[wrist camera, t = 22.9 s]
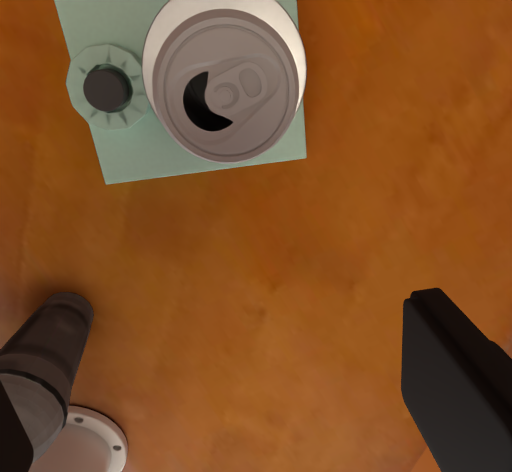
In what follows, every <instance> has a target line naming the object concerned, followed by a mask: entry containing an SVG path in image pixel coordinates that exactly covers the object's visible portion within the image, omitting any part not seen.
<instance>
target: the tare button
mask: <svg viewBox="0 0 512 472" xmlns="http://www.w3.org/2000/svg"><path fill="white" fill-rule="evenodd" d="M83 91H84V95H85V98H86V99H87V101H88V102H89V104H90V105H91V106H93V107H94V108H96V109H98V110H100V111H105V112H109V111H113V110H115V109H117V108H119V107H120V106H122V105H123V104H124V103H125V102H126V101H127V99H128V96H129V86H128V83H127V81H126V79H125V78H124V76H123V75H122V74H121V73H119V72H118V71H116V70H113V69H109V68H105V69H99V70H95V71H93V72H91V73H90V74H88V75H87V77H86V78H85V80H84V84H83Z"/></svg>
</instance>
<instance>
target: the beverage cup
mask: <svg viewBox="0 0 512 472" xmlns="http://www.w3.org/2000/svg"><path fill="white" fill-rule="evenodd" d="M93 316H94V314H93V309H92V307H91V305H90V304H89V302H88V301H87V300H86V299H84V298H83V297H81V296H79V295H77V294H74V293H70V292H60V293H57V294H53V295H52V296H51V297H49V298H48V299H47V300H46V302H44V303H43V304H42V305H41V306H40V307H39V308H38V309H37V310H36V311H35V312H34V313H33V314H32V315H31V316H30V317H29V319H28V320H27V321H26V322H25V323H24V324H23V325H22V326H21V327H20V328H19V330H18V331H17V332H16V333H15V334H14V335H13V336H12V337H11V338H10V339H9V341H8V342H7V343H6V344H5V345H4V346H3V347H2V348H1V349H0V380H1V382H2V384H3V386H4V389H5V391H6V393H7V395H8V397H9V399H10V401H11V403H12V405H13V407H14V409H15V411H16V413H17V415H18V417H19V419H20V421H21V423H22V425H23V427H24V429H25V431H26V433H27V436H28V438H29V440H30V442H31V444H32V446H33V450H34V457H33V462H32V463H34V462H35V461H36V460H38V459H39V458H40V457H41V456H42V455H43V454H44V453H45V452H46V451H47V450H48V448H49V447H50V446H51V444H52V443H53V442H54V440H55V439H56V438H57V436H58V434H59V433H60V432H61V430H62V429H63V428H64V426H65V425H66V420H67V416H68V407H69V401H70V396H71V389H72V386H73V382H74V379H75V376H76V373H77V370H78V367H79V364H80V361H81V357H82V354H83V351H84V348H85V345H86V342H87V339H88V335H89V332H90V328H91V323H92V320H93Z"/></svg>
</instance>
